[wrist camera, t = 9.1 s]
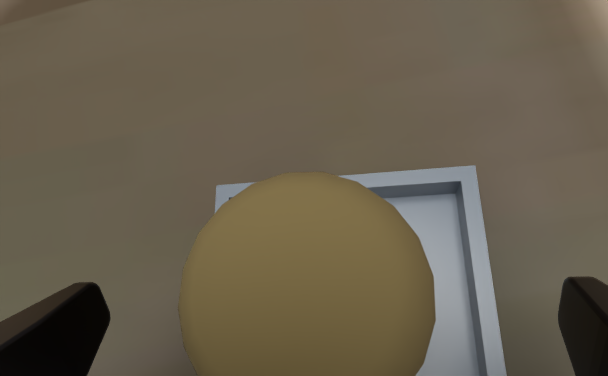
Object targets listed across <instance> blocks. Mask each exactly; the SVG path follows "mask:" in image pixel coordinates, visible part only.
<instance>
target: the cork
mask: <svg viewBox="0 0 608 376" xmlns="http://www.w3.org/2000/svg"><path fill="white" fill-rule="evenodd" d="M178 311H179V317H180V324H181V331H182V337H183V344H184V348H185V350H186V352H187V354H188V356H189V358H190V360H191V363H192V365H193V367H194V369H195V371H196V373H197V375H198V376H416V374H417V373H418V371H419V370H420V368H421V367H422V365H423V364H424V361H425V357H426V354H427V350H428V347H429V343H430V339H431V336H432V332H433V329H434V325H435V322H436V312H435V291H434V276H433V273H432V270H431V268H430V265H429V262H428V260H427V257H426V255H425V252H424V249H423V247H422V244H421V241H420V239H419V237H418V235H417V234H416V233H415V232H414V230H413V229H412V228H411V227H410V225H409V224H408V223H407V222H406V220H405V219H404V218H403V217H402V215H401V214H400V213H399V212H398V210H397V209H396V208H395V207H394V206H393V205H392V204H390V203H389V202H387V201H386V200H384V199H383V198H381V197H380V196H378V195H377V194H375V193H374V192H372V191H371V190H369V189H368V188H366V187H365V186H363V185H362V184H360V183H359V182H357V181H353V180H350V179H346V178H343V177H339V176H336V175H332V174H328V173H325V172H291V173H283V174H280V175H277V176H274V177H271V178H268V179H265V180H262V181H259V182H256V183H253V184H251V185H250V186H248V187H247V188H245V189H244V190H243V191H241V192H240V193H238V194H237V195H235V196H234V197H232V198H231V199H230V200H228V201H227V202H225V203H224V204H222V205H221V207H220V208H219V209H218V210H217V211H216V213H215V214H214V215H213V216H212V218H211V219H210V220H209V221H208V222H207V224H206V225H205V226H204V227H203V229H202V230H201V231H200V232H199V233H198V236H197V238H196V240H195V243H194V245H193V247H192V249H191V252H190V254H189V256H188V259H187V261H186V263H185V266H184V268H183V274H182V281H181V289H180V296H179V303H178Z"/></svg>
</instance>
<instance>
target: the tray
mask: <svg viewBox="0 0 608 376" xmlns="http://www.w3.org/2000/svg"><path fill="white" fill-rule="evenodd" d="M339 177H343V178H346V179H350V180H353V181H357V182H359V183H360V184H362V185H363V186H365V187H366V188H368V189H369V190H371V191H372V192H374V193H375V194H377V195H378V196H380V197H381V198H383V199H384V200H386V201H387V202H389V203H390V204H392V205H393V206H394V207H395V208H396V209H397V210H398V212H399V213H400V214H401V215H402V217H403V218H404V219H405V220H406V222H407V223H408V224H409V225H410V227H411V228H412V229H413V230H414V232H415V233H416V234H417V235H418V237H419V239H420V241H421V244H422V247H423V249H424V252H425V255H426V257H427V260H428V262H429V265H430V268H431V270H432V273H433V276H434V291H435V312H436V322H435V325H434V329H433V332H432V336H431V339H430V343H429V347H428V350H427V354H426V357H425V361H424V364H423V365H422V367H421V368H420V370H419V371H418V373H417V374H416V376H507V375H506V368H505V362H504V355H503V348H502V342H501V335H500V328H499V322H498V315H497V308H496V302H495V295H494V288H493V282H492V275H491V268H490V262H489V255H488V248H487V242H486V235H485V228H484V222H483V215H482V208H481V202H480V195H479V188H478V182H477V175H476V168H475V165H474V166H461V167H448V168H435V169H422V170H409V171H396V172H384V173H371V174H358V175H345V176H339ZM254 183H256V182H254ZM251 184H253V183H242V184H229V185H217V187H216V203H215V213H216V211H217V210H218V209H219V208H220V207H221V205H222V204H224V203H225V202H227V201H228V200H230V199H231V198H232V197H234V196H235V195H237V194H238V193H240V192H241V191H243V190H244V189H245V188H247V187H248V186H250V185H251Z"/></svg>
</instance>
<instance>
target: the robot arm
mask: <svg viewBox="0 0 608 376" xmlns="http://www.w3.org/2000/svg"><path fill="white" fill-rule="evenodd" d="M109 323H110V311H109V309H108V306H107V304H106V301H105V299H104V297H103V294H102V292H101V289H100V287H99V286H98V285H97V284H96V283H93V282H79V283H75V284H72V285H70V286H68V287H67V288H65V289H63V290H61V291H59V292H57V293H55V294H53V295H51V296H49V297H47V298H46V299H44V300H42V301H40V302H38V303H36V304H34V305H32V306H30V307H28V308H26V309H24V310H23V311H21V312H19V313H17V314H15V315H13V316H11V317H9V318H7V319H5V320H3V321H2V322H0V376H87V374H88V372H89V370H90V367H91V365H92V363H93V360H94V358H95V356H96V353H97V351H98V349H99V346H100V344H101V342H102V339H103V337H104V335H105V333H106V330H107V328H108V326H109ZM558 323H559V327H560V330H561V333H562V336H563V339H564V342H565V345H566V348H567V351H568V354H569V357H570V360H571V363H572V366H573V369H574V372H575V375H576V376H608V285H606V284H605V283H603V282H601V281H600V280H598V279H596V278H594V277H568V278H566V279H565V280H564V282H563V286H562V292H561V298H560V305H559V311H558Z"/></svg>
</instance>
